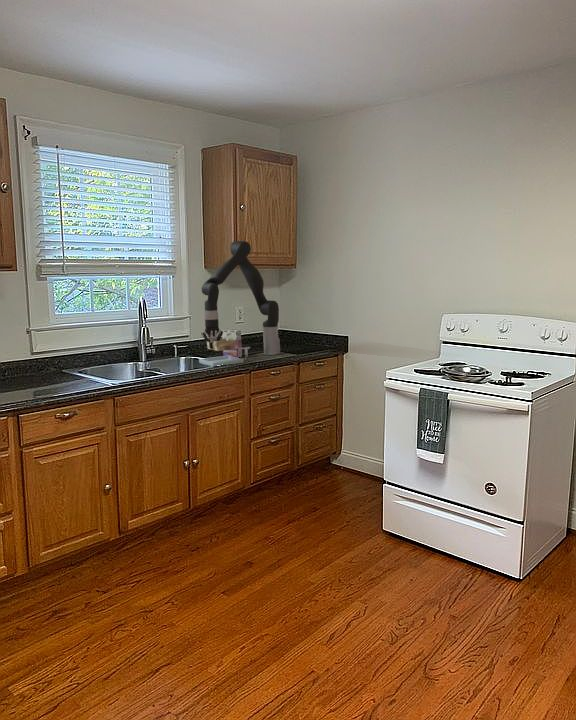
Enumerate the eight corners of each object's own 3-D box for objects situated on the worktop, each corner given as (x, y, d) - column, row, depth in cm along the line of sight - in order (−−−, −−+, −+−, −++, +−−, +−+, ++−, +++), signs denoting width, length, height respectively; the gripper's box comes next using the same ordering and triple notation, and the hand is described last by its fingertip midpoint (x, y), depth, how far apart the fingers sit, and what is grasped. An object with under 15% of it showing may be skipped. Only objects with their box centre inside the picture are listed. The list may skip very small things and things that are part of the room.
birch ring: (238, 348, 346) (238, 340, 345) (217, 351, 339) (217, 342, 338) (227, 346, 358) (226, 337, 357) (207, 348, 351) (206, 339, 350)
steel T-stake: (249, 358, 363) (249, 346, 362) (251, 358, 362) (250, 347, 361) (241, 359, 361) (241, 347, 360) (243, 359, 359) (242, 348, 358)
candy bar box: (242, 357, 370) (241, 330, 367) (238, 358, 365) (236, 331, 363) (227, 356, 375) (225, 329, 372) (222, 357, 370) (221, 330, 368)
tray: (228, 359, 362) (228, 355, 362) (243, 363, 347) (243, 359, 346) (199, 363, 353) (199, 359, 352) (213, 367, 337) (213, 363, 336)
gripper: (203, 319, 336) (204, 350, 339) (225, 317, 343) (226, 348, 346) (197, 318, 342) (199, 349, 345) (219, 317, 350) (221, 347, 352)
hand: (213, 348), depth 346 cm, fingers closed on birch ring, 1 cm apart
